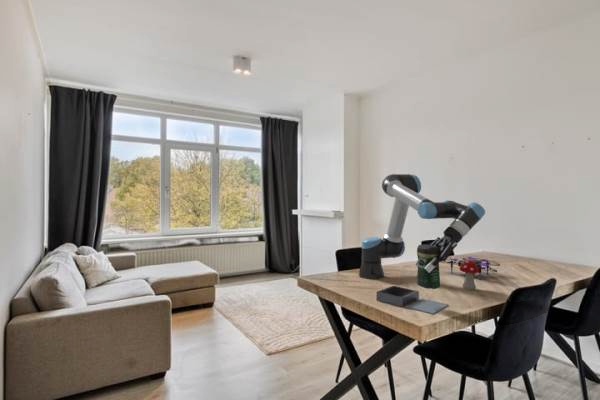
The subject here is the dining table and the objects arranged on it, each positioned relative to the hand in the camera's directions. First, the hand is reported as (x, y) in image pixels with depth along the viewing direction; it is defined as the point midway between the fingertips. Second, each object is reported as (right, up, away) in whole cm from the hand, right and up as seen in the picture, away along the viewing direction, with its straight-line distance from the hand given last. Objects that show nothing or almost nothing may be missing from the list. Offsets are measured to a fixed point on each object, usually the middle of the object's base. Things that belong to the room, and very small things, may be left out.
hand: (421, 268), depth 145 cm
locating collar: (-8, -17, +10) cm, 21 cm away
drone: (+55, -17, +60) cm, 83 cm away
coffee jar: (+3, -9, 0) cm, 9 cm away
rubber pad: (+3, -17, +1) cm, 18 cm away
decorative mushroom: (+36, -17, +29) cm, 49 cm away
